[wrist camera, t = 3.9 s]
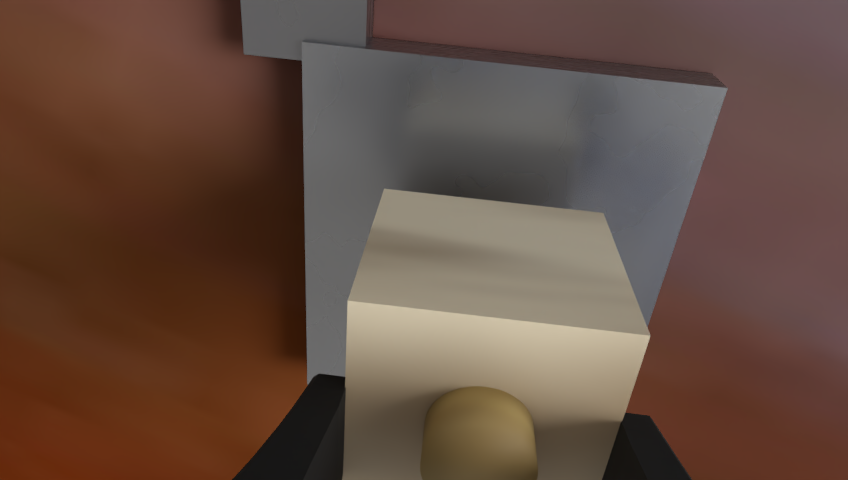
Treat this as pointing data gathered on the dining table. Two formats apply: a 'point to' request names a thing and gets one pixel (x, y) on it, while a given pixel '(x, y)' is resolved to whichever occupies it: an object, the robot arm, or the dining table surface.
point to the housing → (487, 343)
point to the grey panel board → (476, 142)
